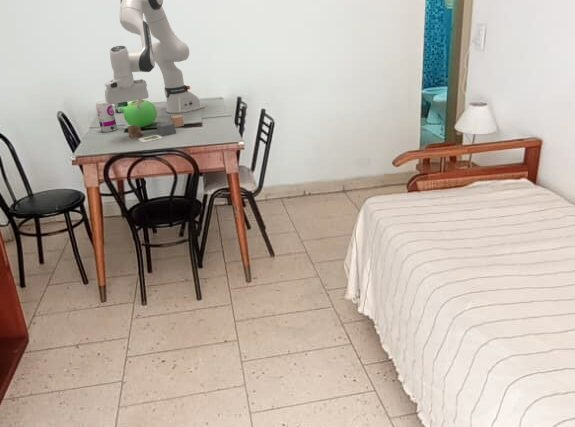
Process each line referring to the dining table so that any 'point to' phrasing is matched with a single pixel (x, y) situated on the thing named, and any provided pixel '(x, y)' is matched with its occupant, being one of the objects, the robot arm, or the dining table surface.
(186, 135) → the dining table surface
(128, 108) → the toy bird
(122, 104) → the coffee jar
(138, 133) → the walnut cube
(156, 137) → the card
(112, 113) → the supplement can
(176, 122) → the terracotta cube
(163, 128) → the charcoal base block
